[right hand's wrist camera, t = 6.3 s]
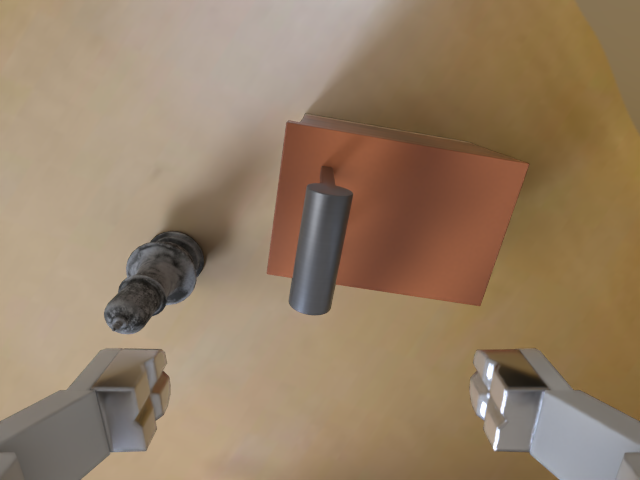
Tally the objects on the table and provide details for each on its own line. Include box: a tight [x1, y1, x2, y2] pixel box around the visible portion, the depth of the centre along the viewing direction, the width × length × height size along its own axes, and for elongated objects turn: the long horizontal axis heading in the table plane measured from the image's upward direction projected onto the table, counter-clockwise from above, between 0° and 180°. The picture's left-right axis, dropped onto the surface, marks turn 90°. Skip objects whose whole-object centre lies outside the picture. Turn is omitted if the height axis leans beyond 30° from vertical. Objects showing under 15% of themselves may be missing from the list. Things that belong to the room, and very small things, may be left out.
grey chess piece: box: [104, 231, 204, 334], centre depth 32 cm, size 6×6×12 cm
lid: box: [267, 121, 529, 315], centre depth 22 cm, size 14×10×9 cm
